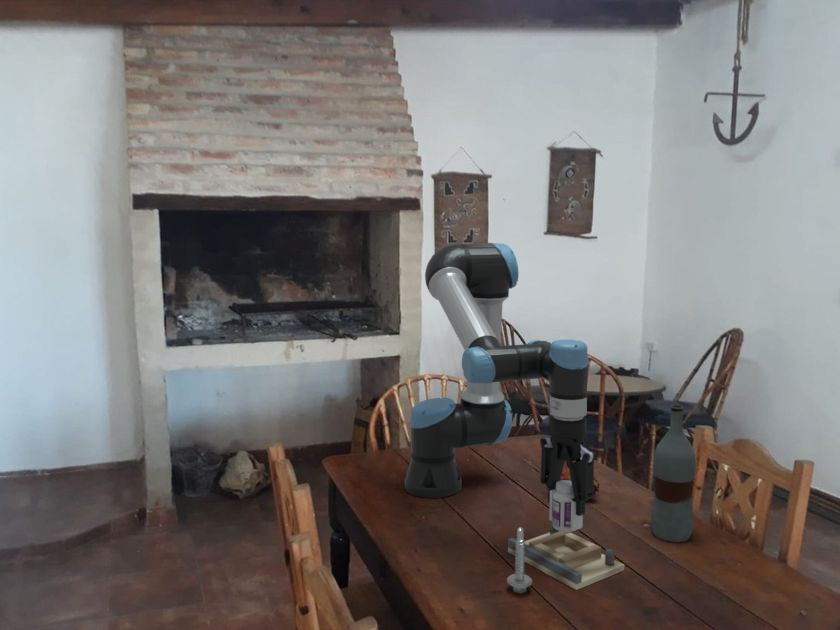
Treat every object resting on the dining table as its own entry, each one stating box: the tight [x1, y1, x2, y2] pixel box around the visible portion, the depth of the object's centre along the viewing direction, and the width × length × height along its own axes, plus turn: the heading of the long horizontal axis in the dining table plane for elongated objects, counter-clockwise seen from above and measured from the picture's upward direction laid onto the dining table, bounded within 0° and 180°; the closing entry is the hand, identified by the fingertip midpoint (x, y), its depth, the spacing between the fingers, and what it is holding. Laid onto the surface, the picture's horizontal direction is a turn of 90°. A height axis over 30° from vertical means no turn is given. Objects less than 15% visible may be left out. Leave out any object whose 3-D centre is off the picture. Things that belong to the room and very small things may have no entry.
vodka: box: [650, 404, 697, 543], centre depth 170 cm, size 9×9×30 cm
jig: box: [507, 522, 625, 591], centre depth 159 cm, size 20×14×4 cm
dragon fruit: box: [560, 466, 600, 502], centre depth 194 cm, size 8×8×12 cm
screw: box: [506, 526, 533, 594], centre depth 147 cm, size 13×5×5 cm
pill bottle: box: [552, 480, 574, 533], centre depth 158 cm, size 5×5×10 cm
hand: (565, 523), depth 158 cm, fingers closed on pill bottle, 5 cm apart
